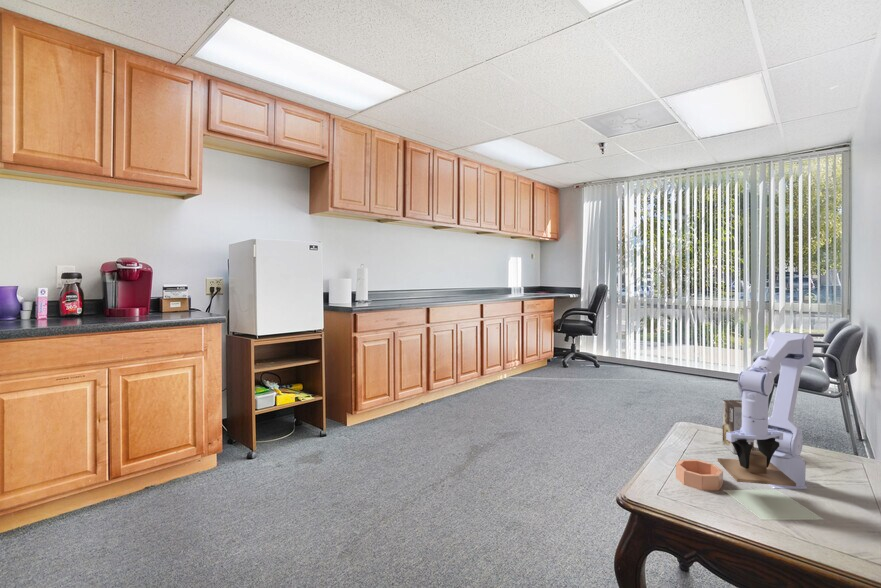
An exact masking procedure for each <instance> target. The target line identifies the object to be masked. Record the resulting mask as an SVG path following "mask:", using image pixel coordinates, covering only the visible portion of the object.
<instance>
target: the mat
mask: <svg viewBox="0 0 881 588" xmlns="http://www.w3.org/2000/svg"><path fill="white" fill-rule="evenodd" d="M722 491H723V492H725V493H726V494H727V495H729V496H730V498H733V500H735V501H737V502H738V503H739V504H741V505H742V506H743V507H744V508H746V509H747V510H748V511H749V512H751V513H752V514H754V515H755V516H756V517H758V519H760V520H761V521H793V520H795V521H796V520H797V521H798V520H799V521H801V520H804V521H805V520H813V521H814V520H815V521H816V520H817V521H818V520H824V518H822V517H821V516H819V515H818V514H816V513H815V512H813V511H811V510H810V509H809V508H807V507H806V506H804V505H802V504H801V503H800V502H797V501H796V500H794V499H793V498H791V497H790V496H788V495H787V494H785V493H784V492H782V491H780V489H723V490H722Z"/></svg>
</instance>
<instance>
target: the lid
mask: <svg viewBox="0 0 881 588" xmlns="http://www.w3.org/2000/svg"><path fill="white" fill-rule="evenodd" d="M717 462H718V463H719V464H720V466H722V467H723V468H724V469H725V471H727V472H728V473H729V475H731V477H732V478H733V479H734V480H735V481H736V482H737V483H748V484H749V483H750V484H760V485H761V484H762V485H767V484H771V485H783V486H796V483H795V482H794V481H793V480H791V479H790V478H789V477H788V476H787V475H785V474H784V473H783V472H782V471H780V470H779V469H778V468H777V467H776V466H774V465H773V464H772V463H771V462H770V463H769V466H768V468H767V457H766V456H765V455H764V454H763V453H761V452H760V451H759V450H754V451H753V450H751V453H750V458H749V468H748V469H746V468H744V467H742V466H740V462H739V459H735V458H722V457H721V458H720V457H718V458H717Z"/></svg>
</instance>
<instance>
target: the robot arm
mask: <svg viewBox="0 0 881 588" xmlns="http://www.w3.org/2000/svg"><path fill="white" fill-rule="evenodd" d="M766 339H767V340H766V346H767V347H766V348H767V351H766V353H765V354H763V355H760V356H758V357H756V359H755V361H754V362H753V364H752V365H751V366H750V367H749V368H748V369H745V370H743V371H742V370H741V371H740V372H739V374H738V378H737V388H738V391H739V398H741V400H742V428H740V430H737V431H733V432H726V440H728V441H730V442H731V443H732V444H733V446H734V448H735V450H736V452H737V458H738V460H739V462H740V466H742V467H744V468H746V469H748V468H749V458H750V453H751V450H752V447H753V446H752V445H750V444H748V442H747V440H754V442H755V443H756V445H757V447H758V451H760V452H761V453H763V454H764V455H765V456H766V457H767V468H768V466H769V463H770V462H771V463H772V464H773V465H774V466H776V467H777V468H778V469H779V470H780V471H782V472H783V473H784V474H785V475H787V476H788V477H789V478H790V479H791V480H793V481H794V482H795V483H796V486H783V485H771V484H766V485H768V486H769V487H770V488H772V489H773V490H781V489H782V490H784V489H785V490H786V489H787V490H788V489H789V490H791V489H794V490H795V489H798V490H799V489H803V490H804V489H805V490H807V489H808V487H807V486H806V471H807V470H806V468H807V467H806V463H805V459H804V457H802V456H801V453H802V451H803V444H804V443H803V431H802V429H801V428H800V427H799V426H798V425H796V423H794V422H793V419H794V414H795V413H794V412H795V409H796V402H797V397H798V392H799V391H798V390H799V386H800V381H801V375H802V372H803V369H804V367H806V366H809V365H811V363H812V360H813V355H814V350H815V349H814V348H815V345H814V343H815V342H814V337H813V336H812V335H811V334H810V333H806V334H805V333H795V332H782V331H776V330H775V331H774V330H772V331H770V332H769V333H768V336H767V338H766ZM778 374H779V376H778V382H777V387H776V392H775V396H774V401H773V402H774V403H773V407H772V411H771V416H769V396H770V394H771V393H772V391H773V386H774V384H775V378H776V377H777V375H778Z"/></svg>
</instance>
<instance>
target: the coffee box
mask: <svg viewBox="0 0 881 588" xmlns="http://www.w3.org/2000/svg"><path fill="white" fill-rule="evenodd" d="M740 428H742V399H741V400H739V399H729V400H728V399H722V445H723V446H724V447H725V448H726V449H727V450H729V451H730V452H731V453H732V454H735V455H736V454H737V452H736V450H735V448H734V446H733V444H732V443H731V442H730V441H728V440H726V432H733V431H737V430H740ZM747 442H748V444H750V445H752V446H753V447H752V450H753V451H755V450H754V446H755V445H754V444H755V440H747Z"/></svg>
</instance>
